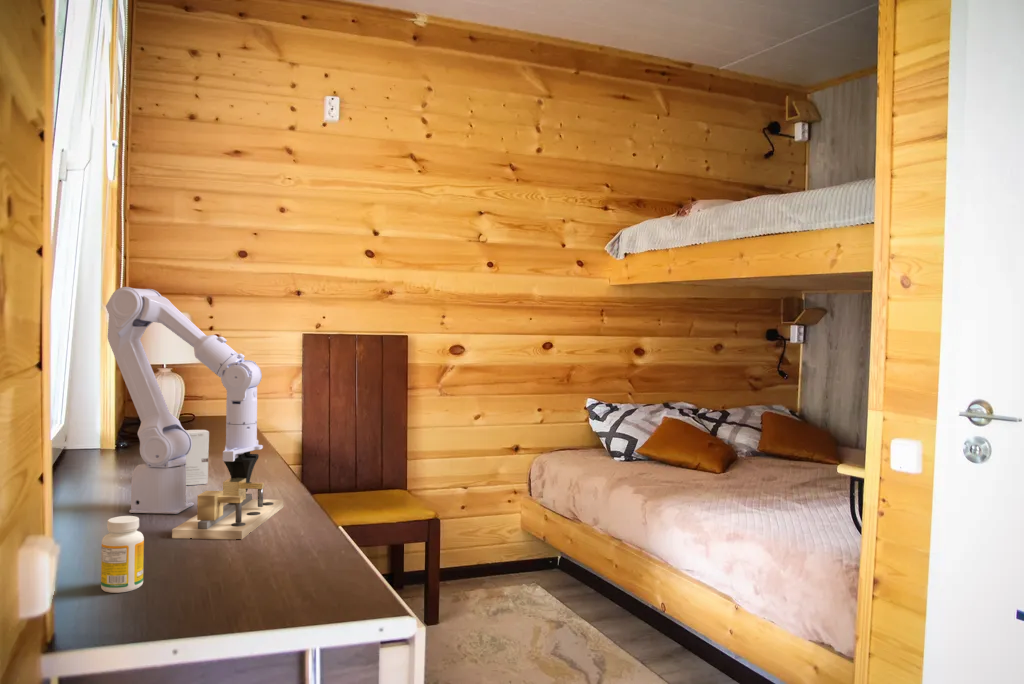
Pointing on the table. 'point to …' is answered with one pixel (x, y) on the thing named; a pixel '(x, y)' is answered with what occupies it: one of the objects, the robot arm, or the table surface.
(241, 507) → the board
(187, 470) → the skincare box
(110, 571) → the supplement bottle
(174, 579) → the table surface
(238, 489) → the tan block with post
